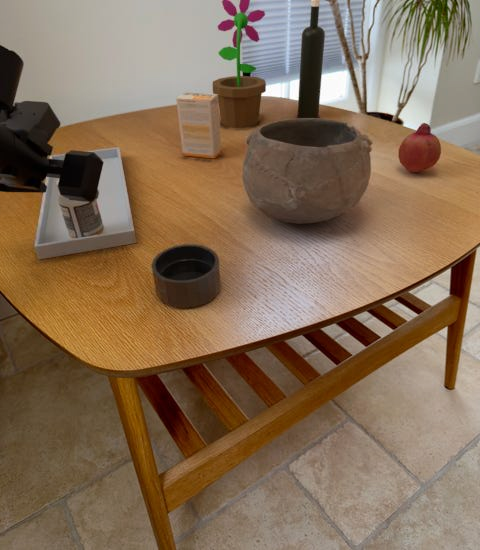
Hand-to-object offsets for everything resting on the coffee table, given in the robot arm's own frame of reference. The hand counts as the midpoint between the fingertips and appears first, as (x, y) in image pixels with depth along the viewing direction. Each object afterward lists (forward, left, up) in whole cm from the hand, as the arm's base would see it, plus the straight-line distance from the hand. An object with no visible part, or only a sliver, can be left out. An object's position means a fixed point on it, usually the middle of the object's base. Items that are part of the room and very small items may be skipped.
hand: (71, 192), depth 67 cm
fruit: (+67, +6, -9) cm, 67 cm away
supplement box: (+27, +31, -9) cm, 42 cm away
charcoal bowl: (+14, -18, -9) cm, 25 cm away
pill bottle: (+1, +1, -8) cm, 9 cm away
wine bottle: (+61, +48, -9) cm, 78 cm away
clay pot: (+38, -3, -9) cm, 39 cm away
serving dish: (+1, +16, -9) cm, 18 cm away
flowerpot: (+42, +51, -9) cm, 66 cm away
